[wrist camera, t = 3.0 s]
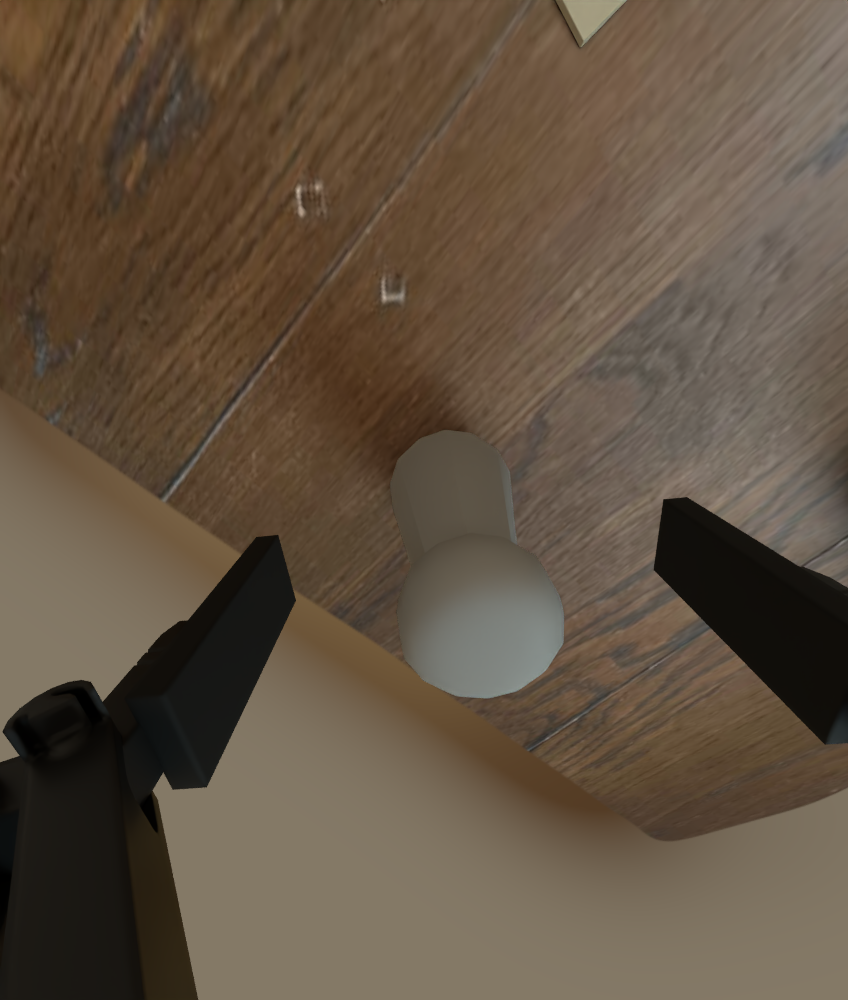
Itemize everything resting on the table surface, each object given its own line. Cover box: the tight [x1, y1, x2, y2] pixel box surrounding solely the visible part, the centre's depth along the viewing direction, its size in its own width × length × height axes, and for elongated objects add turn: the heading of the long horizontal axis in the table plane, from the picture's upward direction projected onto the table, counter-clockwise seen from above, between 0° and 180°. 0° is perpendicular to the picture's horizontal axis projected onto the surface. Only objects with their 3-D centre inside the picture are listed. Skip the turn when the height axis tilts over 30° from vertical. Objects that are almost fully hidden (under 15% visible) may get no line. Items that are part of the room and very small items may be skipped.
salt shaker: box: [390, 430, 564, 698], centre depth 15 cm, size 6×6×13 cm
